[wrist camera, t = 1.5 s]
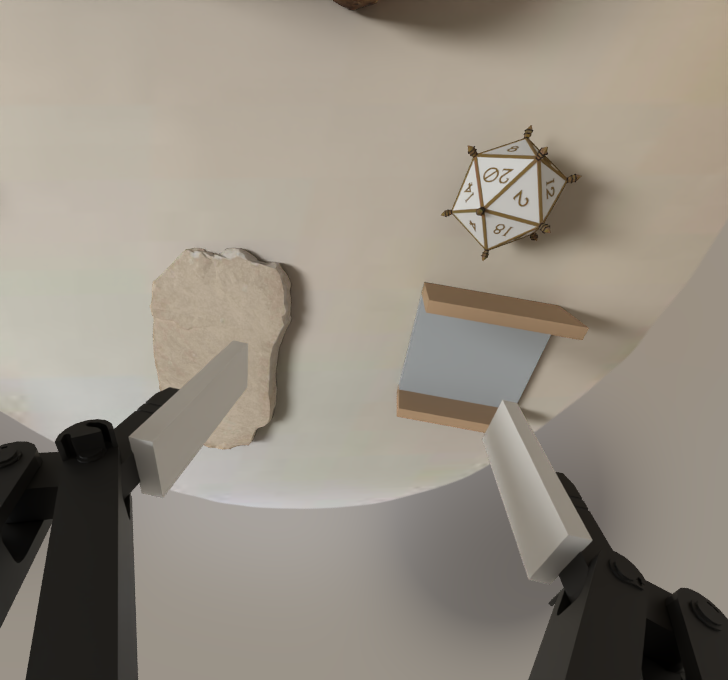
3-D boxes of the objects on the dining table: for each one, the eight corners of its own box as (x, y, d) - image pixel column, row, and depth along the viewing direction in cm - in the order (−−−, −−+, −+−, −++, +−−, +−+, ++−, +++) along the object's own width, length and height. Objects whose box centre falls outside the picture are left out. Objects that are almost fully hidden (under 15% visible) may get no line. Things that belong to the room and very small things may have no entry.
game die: (464, 208, 31) (408, 237, 25) (508, 108, 25) (447, 116, 19) (544, 251, 28) (502, 295, 22) (618, 150, 22) (585, 175, 16)
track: (424, 282, 31) (429, 300, 26) (558, 305, 31) (588, 328, 26) (396, 392, 38) (396, 422, 33) (507, 412, 38) (523, 446, 33)
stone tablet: (303, 265, 32) (296, 271, 30) (267, 452, 46) (261, 465, 44) (152, 218, 32) (134, 220, 30) (161, 421, 45) (150, 433, 43)
